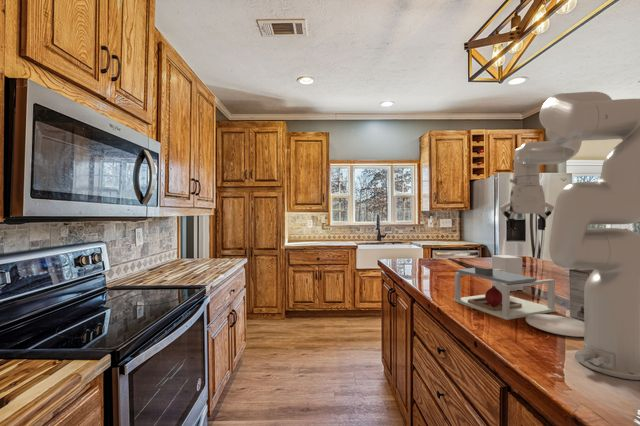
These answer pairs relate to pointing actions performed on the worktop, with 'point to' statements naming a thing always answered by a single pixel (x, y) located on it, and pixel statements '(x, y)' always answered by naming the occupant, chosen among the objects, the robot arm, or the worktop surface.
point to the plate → (557, 324)
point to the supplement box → (507, 266)
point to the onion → (493, 296)
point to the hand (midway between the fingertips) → (526, 229)
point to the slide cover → (496, 275)
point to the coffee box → (578, 291)
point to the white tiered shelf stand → (508, 300)
